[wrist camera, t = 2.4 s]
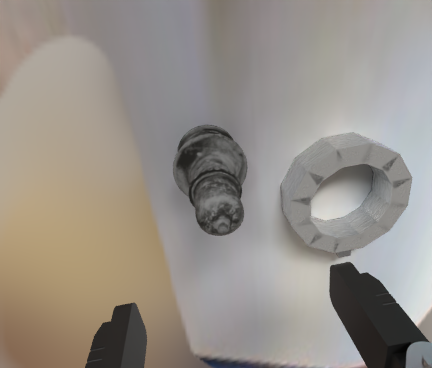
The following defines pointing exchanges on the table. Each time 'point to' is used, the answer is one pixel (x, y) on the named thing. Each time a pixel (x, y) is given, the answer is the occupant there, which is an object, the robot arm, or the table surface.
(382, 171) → the ring
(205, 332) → the table surface
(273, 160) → the table surface
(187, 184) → the salt shaker
